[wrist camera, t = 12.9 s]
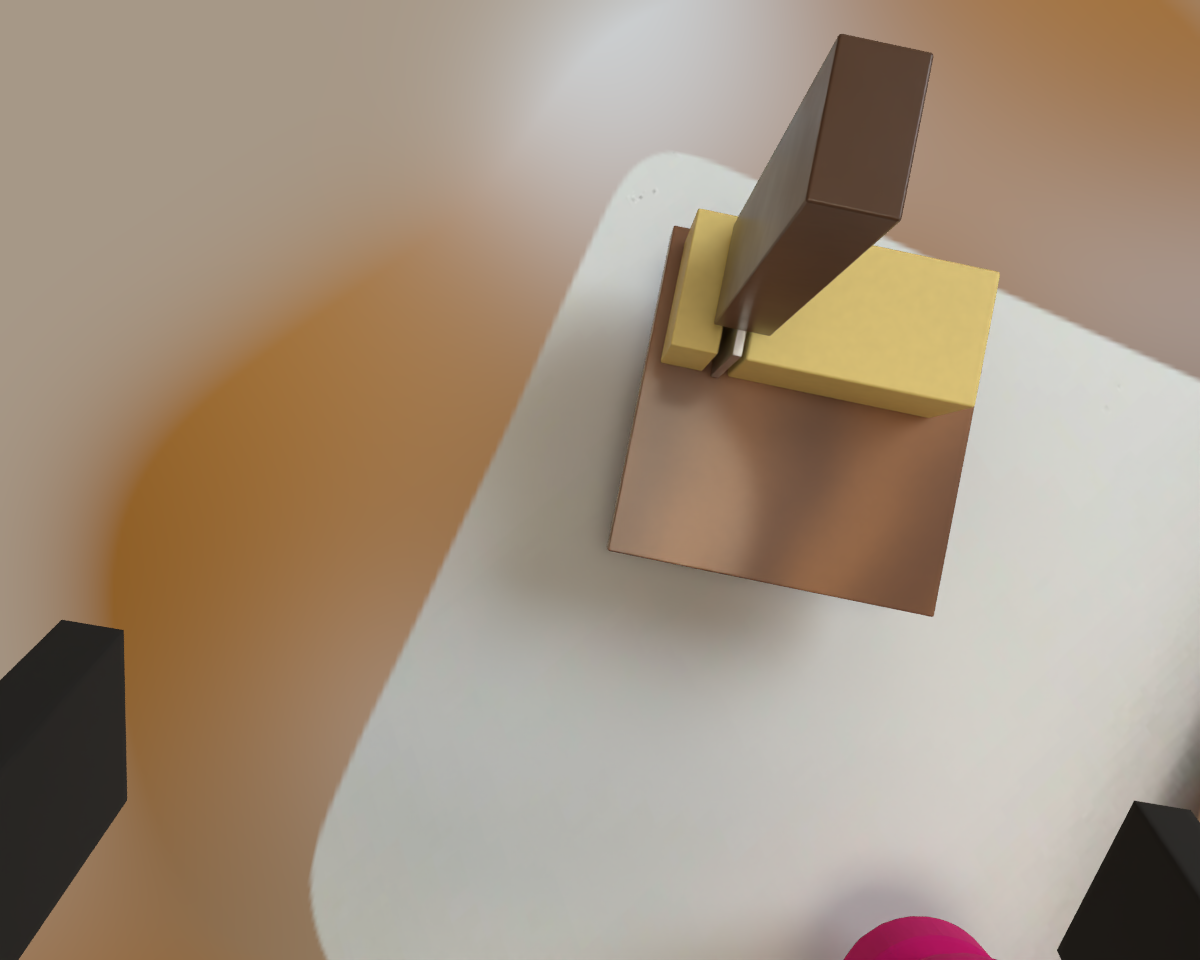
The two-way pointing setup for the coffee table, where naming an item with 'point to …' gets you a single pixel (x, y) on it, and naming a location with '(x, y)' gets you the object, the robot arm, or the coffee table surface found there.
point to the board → (785, 481)
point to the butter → (848, 327)
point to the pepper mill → (917, 942)
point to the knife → (824, 188)
